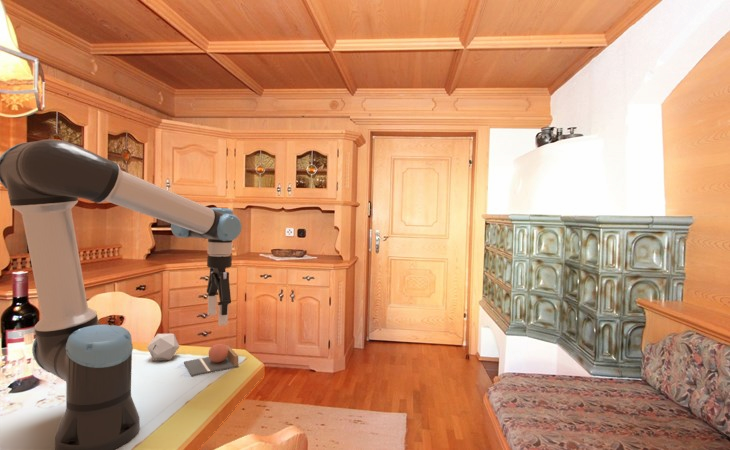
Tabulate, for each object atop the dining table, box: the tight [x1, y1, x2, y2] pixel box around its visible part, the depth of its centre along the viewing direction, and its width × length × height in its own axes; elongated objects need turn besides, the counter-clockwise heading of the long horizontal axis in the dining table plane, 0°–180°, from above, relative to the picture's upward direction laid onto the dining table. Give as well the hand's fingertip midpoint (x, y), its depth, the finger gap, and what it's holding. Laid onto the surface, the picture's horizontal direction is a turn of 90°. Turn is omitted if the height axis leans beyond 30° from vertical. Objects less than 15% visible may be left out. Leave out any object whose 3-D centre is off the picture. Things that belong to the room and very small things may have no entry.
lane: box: [183, 344, 239, 377], centre depth 123 cm, size 14×12×4 cm
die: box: [146, 333, 180, 361], centre depth 128 cm, size 8×9×10 cm
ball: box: [208, 343, 228, 363], centre depth 124 cm, size 6×6×6 cm
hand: (217, 319), depth 124 cm, fingers open, 13 cm apart
